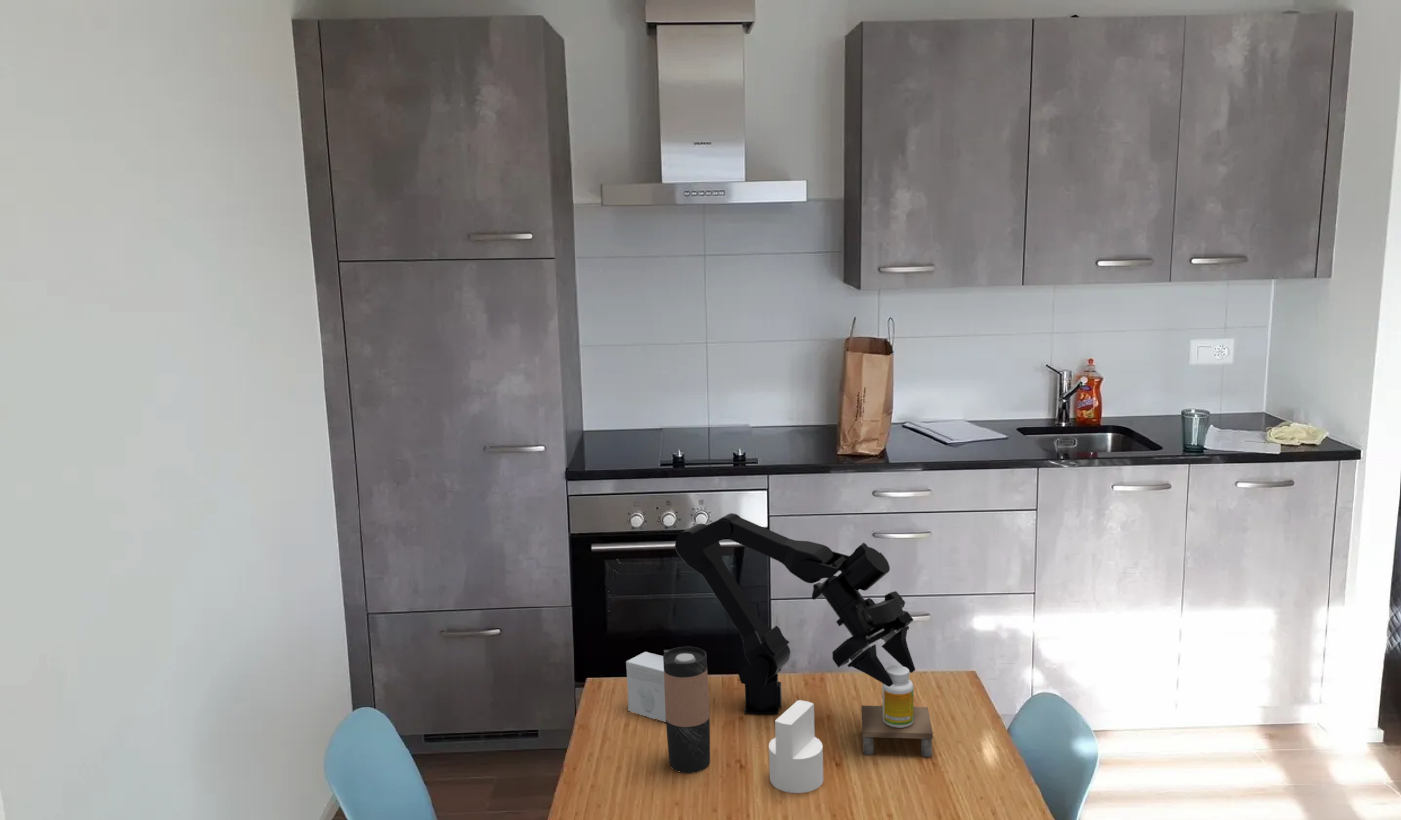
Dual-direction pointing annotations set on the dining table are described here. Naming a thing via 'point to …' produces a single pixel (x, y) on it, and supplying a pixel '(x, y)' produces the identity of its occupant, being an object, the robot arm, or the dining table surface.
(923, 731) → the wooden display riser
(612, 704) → the dining table surface
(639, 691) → the skincare box
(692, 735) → the travel mug
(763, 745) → the dining table surface
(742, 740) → the dining table surface
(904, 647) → the robot arm
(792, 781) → the base with upright slab
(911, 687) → the supplement bottle
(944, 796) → the dining table surface
